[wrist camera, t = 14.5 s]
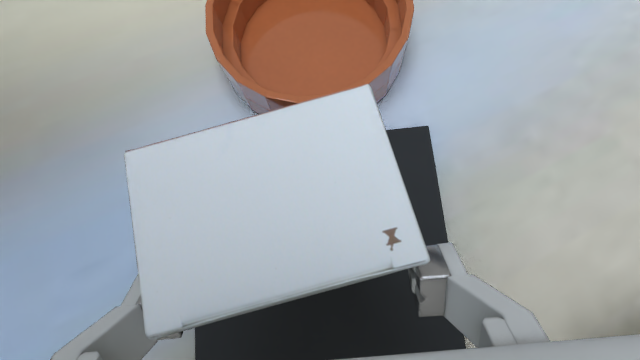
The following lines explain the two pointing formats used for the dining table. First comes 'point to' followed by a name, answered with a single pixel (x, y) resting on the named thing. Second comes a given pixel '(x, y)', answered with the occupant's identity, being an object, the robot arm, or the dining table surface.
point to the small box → (268, 211)
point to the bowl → (307, 47)
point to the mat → (350, 296)
